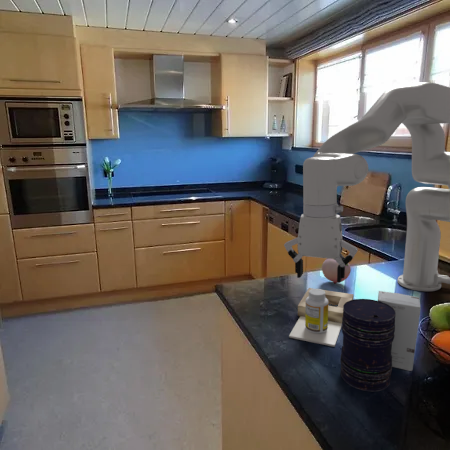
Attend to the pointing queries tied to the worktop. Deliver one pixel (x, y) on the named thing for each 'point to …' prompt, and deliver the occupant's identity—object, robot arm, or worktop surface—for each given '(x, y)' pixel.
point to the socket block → (334, 299)
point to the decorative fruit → (334, 270)
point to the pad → (321, 338)
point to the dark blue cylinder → (367, 344)
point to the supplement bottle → (316, 311)
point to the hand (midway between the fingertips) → (319, 278)
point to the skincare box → (403, 327)
